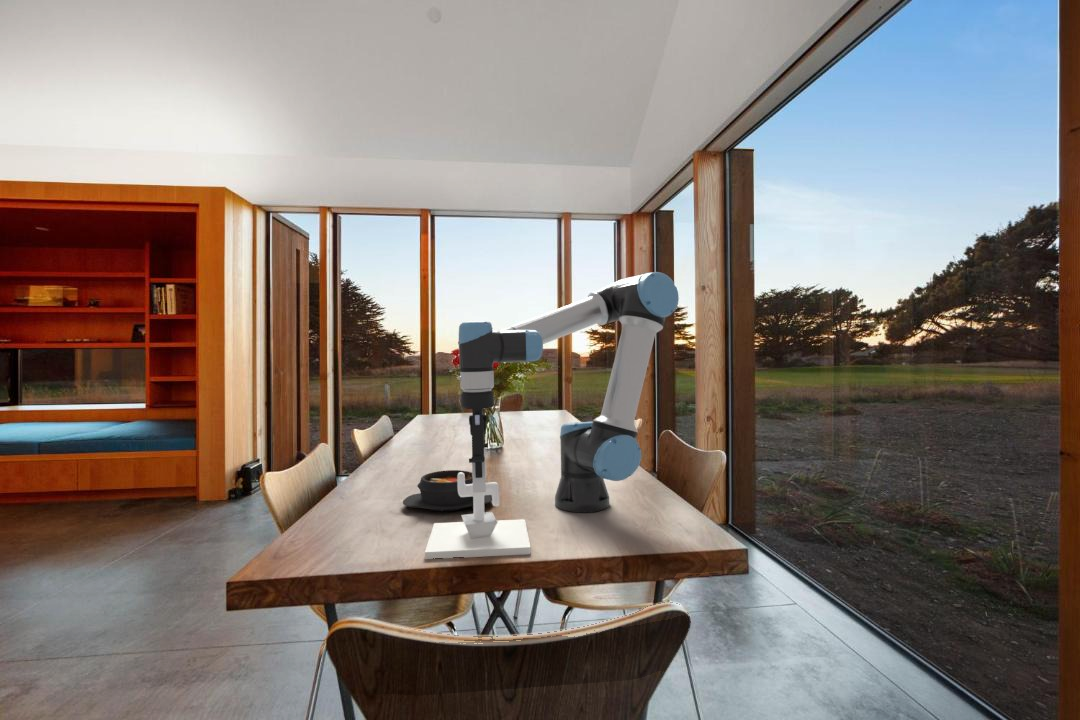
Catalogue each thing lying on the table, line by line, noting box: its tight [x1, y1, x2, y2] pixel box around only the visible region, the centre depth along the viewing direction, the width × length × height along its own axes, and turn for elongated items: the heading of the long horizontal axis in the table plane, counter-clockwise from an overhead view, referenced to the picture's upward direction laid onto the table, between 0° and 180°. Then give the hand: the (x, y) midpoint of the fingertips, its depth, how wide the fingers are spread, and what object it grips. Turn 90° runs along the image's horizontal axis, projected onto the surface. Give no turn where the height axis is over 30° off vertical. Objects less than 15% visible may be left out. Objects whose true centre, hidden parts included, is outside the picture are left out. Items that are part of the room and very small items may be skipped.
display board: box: [424, 519, 532, 560], centre depth 117 cm, size 22×18×2 cm
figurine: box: [457, 472, 500, 539], centre depth 117 cm, size 7×9×15 cm
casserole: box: [402, 469, 492, 512], centre depth 144 cm, size 25×19×8 cm
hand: (480, 483), depth 117 cm, fingers open, 13 cm apart
